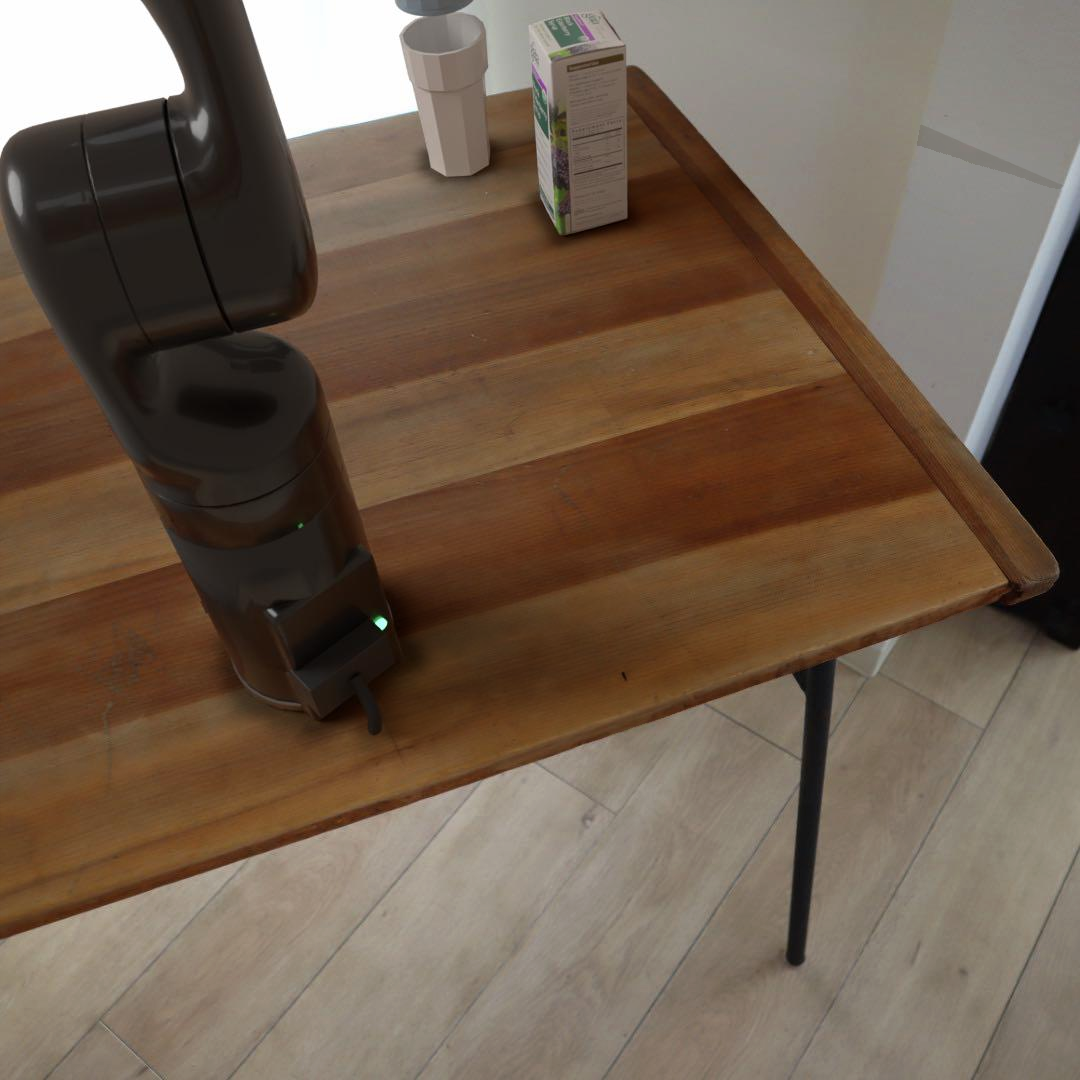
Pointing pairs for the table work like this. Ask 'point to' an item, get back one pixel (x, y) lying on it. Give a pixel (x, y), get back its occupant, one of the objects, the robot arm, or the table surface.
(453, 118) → the cup
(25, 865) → the table surface
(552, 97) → the syrup box
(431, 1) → the glass
